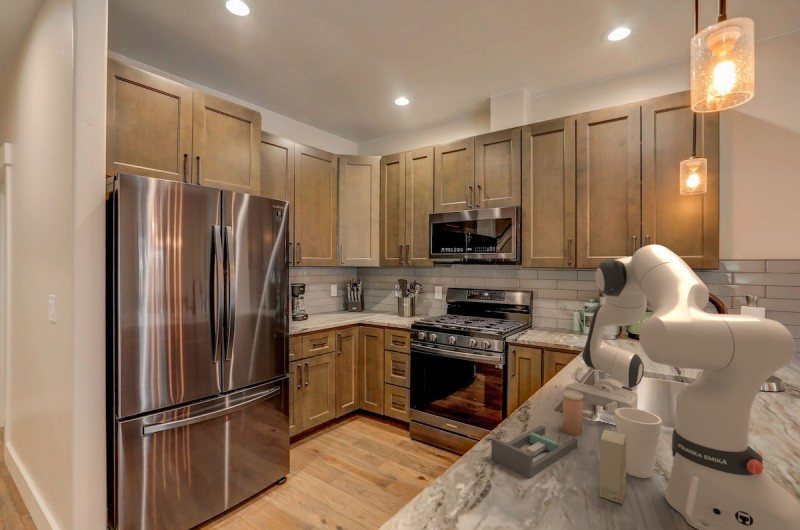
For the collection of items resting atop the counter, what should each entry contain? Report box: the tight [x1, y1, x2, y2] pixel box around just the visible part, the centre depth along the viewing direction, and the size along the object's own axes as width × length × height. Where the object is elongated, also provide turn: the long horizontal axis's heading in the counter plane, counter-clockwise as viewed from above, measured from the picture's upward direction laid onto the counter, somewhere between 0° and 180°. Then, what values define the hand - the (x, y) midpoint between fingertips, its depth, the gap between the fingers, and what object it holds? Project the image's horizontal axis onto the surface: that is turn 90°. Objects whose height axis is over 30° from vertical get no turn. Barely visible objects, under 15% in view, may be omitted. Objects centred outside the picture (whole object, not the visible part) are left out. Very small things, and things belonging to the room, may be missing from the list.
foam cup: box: [613, 408, 663, 479], centre depth 87 cm, size 10×9×13 cm
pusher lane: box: [490, 425, 579, 479], centre depth 94 cm, size 23×10×5 cm, turn 130°
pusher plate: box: [525, 432, 559, 457], centre depth 95 cm, size 7×7×2 cm
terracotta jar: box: [561, 389, 584, 436], centre depth 107 cm, size 5×5×11 cm
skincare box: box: [598, 428, 627, 505], centre depth 78 cm, size 6×4×12 cm
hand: (588, 402), depth 113 cm, fingers open, 8 cm apart
